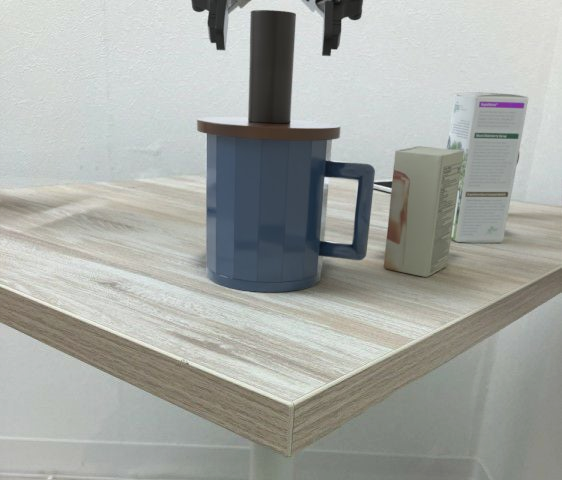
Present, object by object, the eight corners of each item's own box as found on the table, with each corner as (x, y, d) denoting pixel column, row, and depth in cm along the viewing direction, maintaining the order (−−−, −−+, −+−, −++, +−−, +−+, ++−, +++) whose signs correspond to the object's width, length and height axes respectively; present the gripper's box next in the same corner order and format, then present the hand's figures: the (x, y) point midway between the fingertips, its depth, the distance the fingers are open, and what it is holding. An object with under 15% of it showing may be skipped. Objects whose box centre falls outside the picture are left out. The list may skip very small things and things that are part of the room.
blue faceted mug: (188, 283, 50) (186, 132, 46) (229, 255, 58) (231, 126, 54) (352, 305, 47) (368, 146, 43) (371, 272, 55) (386, 137, 51)
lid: (172, 132, 45) (169, 1, 42) (226, 125, 55) (227, 17, 51) (322, 144, 43) (332, 5, 39) (351, 134, 52) (361, 21, 49)
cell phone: (395, 182, 105) (395, 178, 105) (467, 199, 93) (468, 195, 93) (357, 184, 101) (357, 180, 101) (427, 202, 89) (428, 197, 89)
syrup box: (504, 243, 69) (533, 95, 62) (452, 242, 68) (476, 92, 62) (481, 231, 74) (505, 93, 68) (432, 230, 73) (452, 90, 67)
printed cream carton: (404, 258, 61) (419, 145, 56) (448, 267, 58) (467, 150, 54) (379, 268, 57) (393, 148, 53) (425, 278, 55) (443, 154, 50)
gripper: (198, -146, 53) (178, -2, 48) (370, -138, 53) (370, 8, 48) (206, -58, 60) (189, 77, 55) (358, -50, 60) (357, 85, 55)
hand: (273, 44), depth 51 cm, fingers open, 8 cm apart
